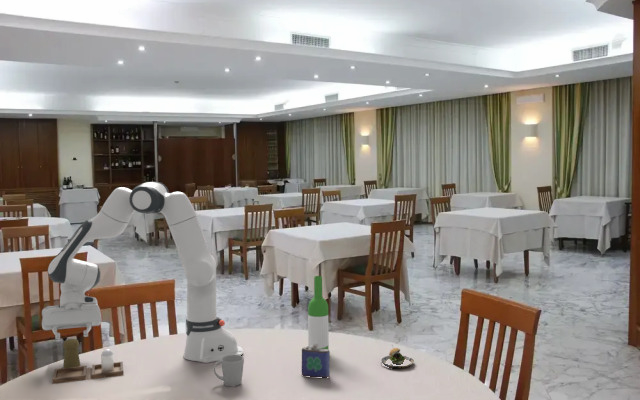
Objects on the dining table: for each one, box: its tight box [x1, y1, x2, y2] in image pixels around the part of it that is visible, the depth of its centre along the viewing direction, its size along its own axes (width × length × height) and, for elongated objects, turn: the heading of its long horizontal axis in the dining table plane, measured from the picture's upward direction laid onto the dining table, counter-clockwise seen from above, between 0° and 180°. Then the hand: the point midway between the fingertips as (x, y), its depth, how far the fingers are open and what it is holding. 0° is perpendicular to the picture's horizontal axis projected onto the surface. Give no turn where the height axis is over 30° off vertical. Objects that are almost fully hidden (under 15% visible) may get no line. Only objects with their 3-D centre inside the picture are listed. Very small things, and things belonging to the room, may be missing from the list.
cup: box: [213, 355, 245, 387], centre depth 195 cm, size 8×10×8 cm
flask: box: [301, 343, 331, 379], centre depth 201 cm, size 10×3×12 cm, turn 74°
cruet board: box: [51, 361, 125, 385], centre depth 201 cm, size 22×12×3 cm, turn 110°
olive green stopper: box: [62, 338, 81, 368], centre depth 208 cm, size 6×6×11 cm
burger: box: [381, 345, 414, 369], centre depth 213 cm, size 12×12×8 cm
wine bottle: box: [307, 275, 330, 351], centre depth 224 cm, size 8×8×30 cm
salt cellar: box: [100, 348, 115, 373], centre depth 203 cm, size 4×4×8 cm
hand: (71, 337), depth 213 cm, fingers open, 8 cm apart
